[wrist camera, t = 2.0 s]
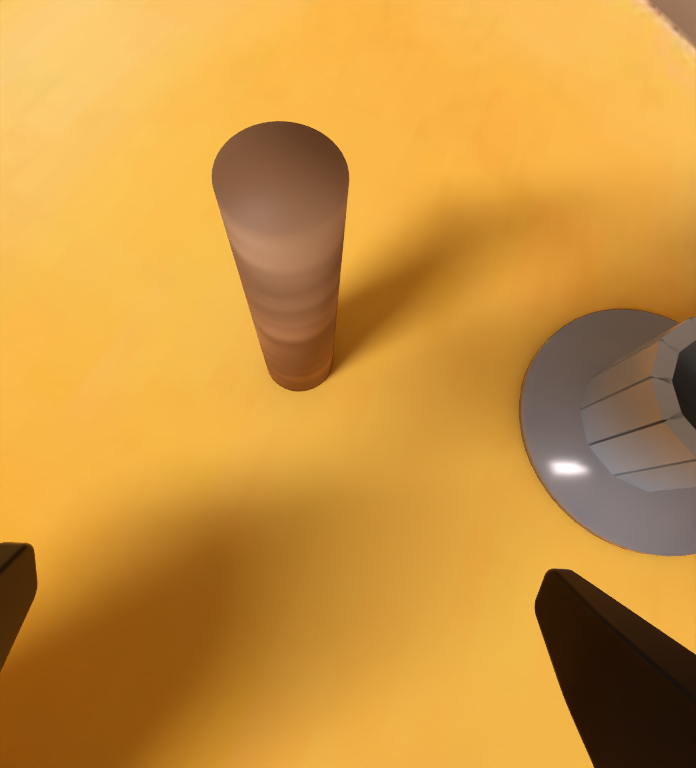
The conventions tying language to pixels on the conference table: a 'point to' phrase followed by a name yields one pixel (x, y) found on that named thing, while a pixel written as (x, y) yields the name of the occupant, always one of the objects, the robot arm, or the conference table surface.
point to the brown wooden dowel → (286, 241)
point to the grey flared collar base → (618, 427)
